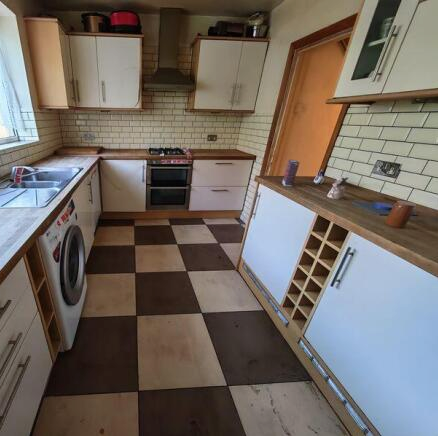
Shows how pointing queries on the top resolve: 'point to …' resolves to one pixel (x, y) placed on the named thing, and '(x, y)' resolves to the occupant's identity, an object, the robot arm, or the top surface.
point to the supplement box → (290, 172)
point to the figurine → (338, 189)
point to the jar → (400, 214)
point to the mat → (374, 208)
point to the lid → (383, 206)
